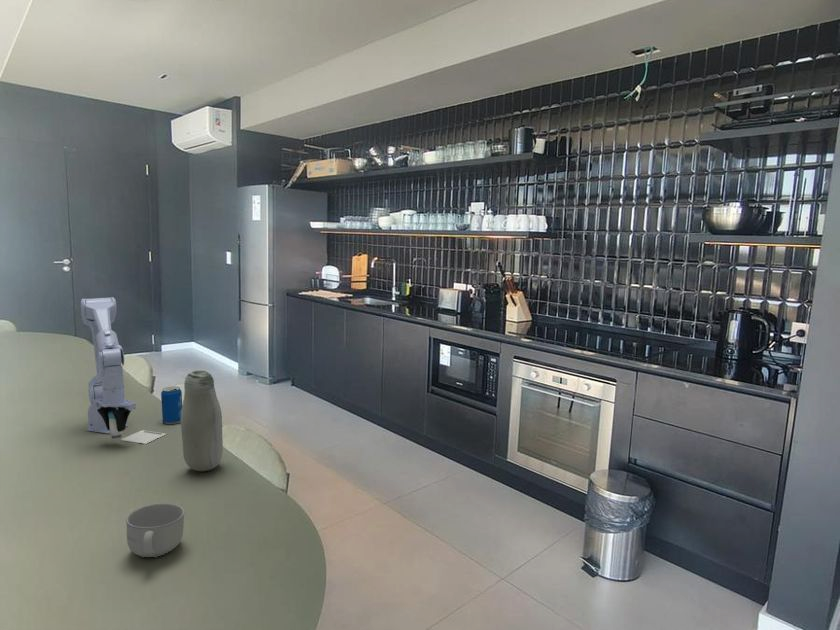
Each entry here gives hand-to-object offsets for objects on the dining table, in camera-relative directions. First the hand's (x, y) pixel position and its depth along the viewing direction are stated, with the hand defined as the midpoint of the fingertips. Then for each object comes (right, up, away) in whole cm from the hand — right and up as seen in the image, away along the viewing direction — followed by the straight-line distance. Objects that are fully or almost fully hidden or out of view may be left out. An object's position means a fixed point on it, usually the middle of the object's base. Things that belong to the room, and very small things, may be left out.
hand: (116, 429), depth 167 cm
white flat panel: (+5, -4, +7) cm, 9 cm away
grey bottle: (+34, -8, -16) cm, 38 cm away
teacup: (+40, -14, -56) cm, 70 cm away
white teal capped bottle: (0, -2, 0) cm, 2 cm away
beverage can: (+8, -2, +22) cm, 23 cm away
